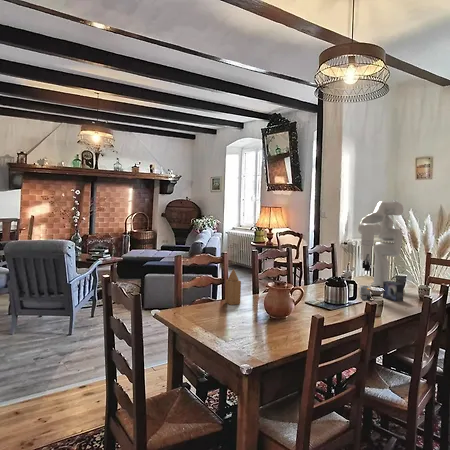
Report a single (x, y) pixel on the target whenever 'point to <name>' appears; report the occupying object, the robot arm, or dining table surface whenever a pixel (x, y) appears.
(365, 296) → the keeper
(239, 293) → the decorative item
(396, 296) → the small box
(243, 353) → the dining table surface
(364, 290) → the link
